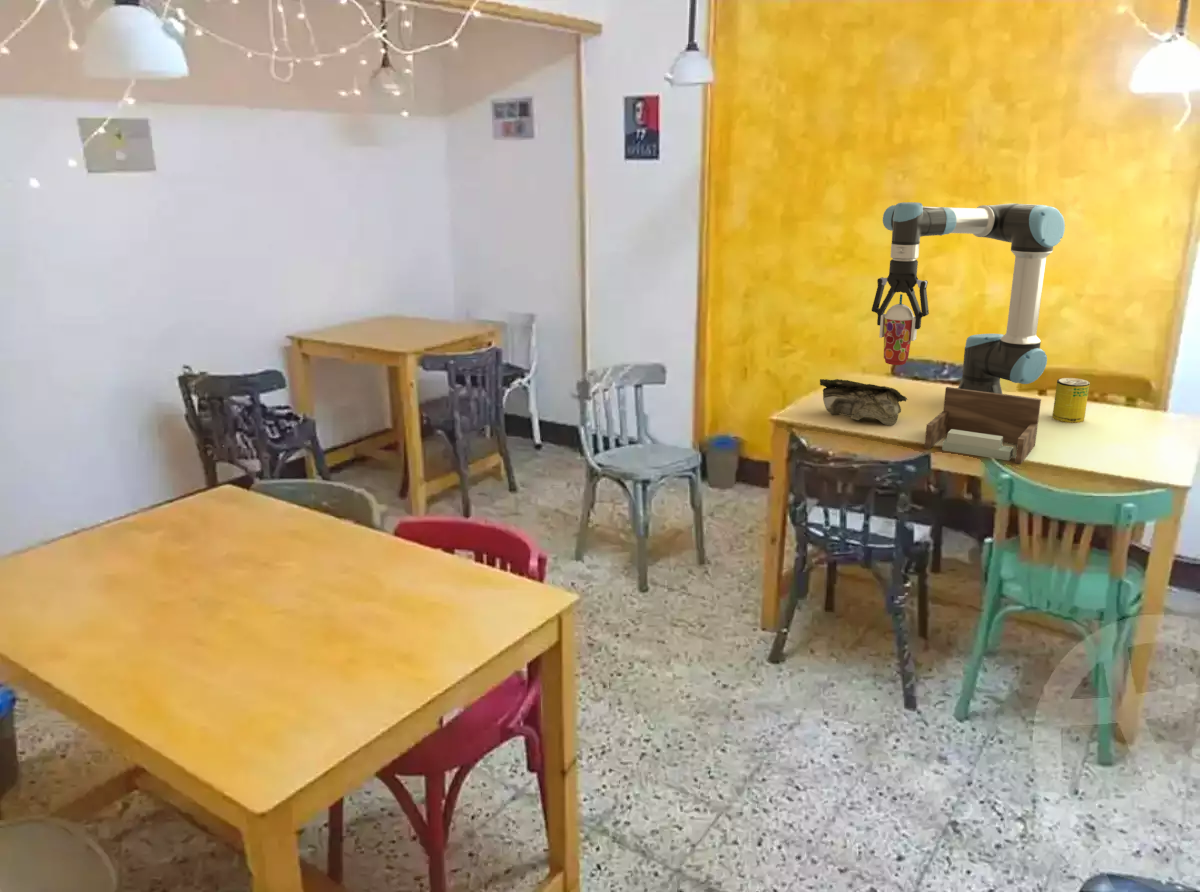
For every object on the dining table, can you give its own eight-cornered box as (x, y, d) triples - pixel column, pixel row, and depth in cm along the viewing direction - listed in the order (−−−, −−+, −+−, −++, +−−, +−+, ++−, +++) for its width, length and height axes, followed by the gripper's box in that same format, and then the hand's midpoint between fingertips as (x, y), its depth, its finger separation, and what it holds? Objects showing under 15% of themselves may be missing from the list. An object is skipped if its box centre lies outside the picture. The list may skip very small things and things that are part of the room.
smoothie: (907, 359, 276) (913, 292, 270) (913, 366, 268) (919, 296, 262) (878, 359, 277) (883, 292, 270) (883, 366, 269) (889, 297, 262)
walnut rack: (942, 431, 282) (947, 386, 278) (1035, 445, 268) (1041, 398, 263) (924, 447, 268) (928, 401, 264) (1020, 463, 254) (1027, 414, 250)
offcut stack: (946, 446, 270) (947, 428, 268) (1012, 456, 260) (1014, 437, 259) (941, 451, 266) (943, 432, 265) (1009, 461, 257) (1011, 442, 255)
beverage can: (1088, 418, 292) (1093, 380, 288) (1078, 424, 286) (1084, 386, 282) (1057, 413, 298) (1062, 376, 294) (1048, 419, 292) (1053, 382, 288)
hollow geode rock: (816, 425, 307) (802, 400, 297) (830, 392, 312) (816, 367, 301) (899, 437, 290) (887, 412, 279) (912, 403, 294) (901, 376, 284)
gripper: (862, 258, 266) (857, 336, 273) (938, 262, 254) (930, 344, 261) (872, 255, 272) (866, 332, 279) (946, 259, 260) (938, 339, 267)
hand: (897, 338), depth 270 cm, fingers closed on smoothie, 8 cm apart
